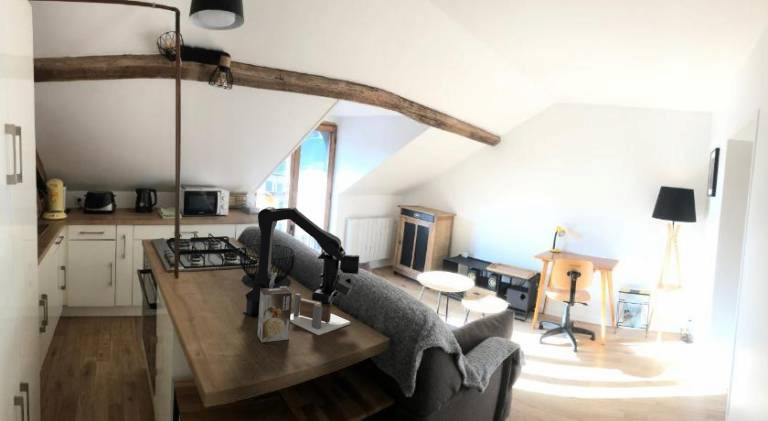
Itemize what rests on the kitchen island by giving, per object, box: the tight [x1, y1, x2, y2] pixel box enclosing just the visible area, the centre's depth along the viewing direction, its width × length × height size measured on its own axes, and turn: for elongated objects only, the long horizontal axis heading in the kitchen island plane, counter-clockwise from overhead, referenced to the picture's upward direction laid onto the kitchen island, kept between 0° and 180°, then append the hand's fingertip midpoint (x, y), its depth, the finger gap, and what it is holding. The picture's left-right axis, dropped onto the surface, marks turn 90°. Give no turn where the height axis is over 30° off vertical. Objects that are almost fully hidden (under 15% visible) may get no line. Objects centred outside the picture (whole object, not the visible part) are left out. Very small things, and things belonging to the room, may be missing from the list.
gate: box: [299, 298, 333, 323], centre depth 166 cm, size 2×12×6 cm, turn 70°
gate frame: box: [290, 293, 351, 336], centre depth 167 cm, size 16×18×10 cm
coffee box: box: [257, 286, 293, 343], centre depth 149 cm, size 9×6×16 cm
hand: (327, 312), depth 168 cm, fingers closed
